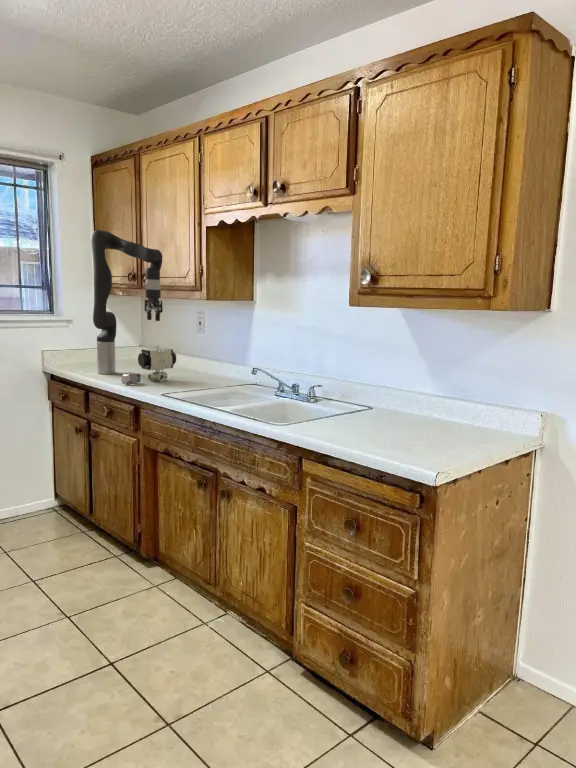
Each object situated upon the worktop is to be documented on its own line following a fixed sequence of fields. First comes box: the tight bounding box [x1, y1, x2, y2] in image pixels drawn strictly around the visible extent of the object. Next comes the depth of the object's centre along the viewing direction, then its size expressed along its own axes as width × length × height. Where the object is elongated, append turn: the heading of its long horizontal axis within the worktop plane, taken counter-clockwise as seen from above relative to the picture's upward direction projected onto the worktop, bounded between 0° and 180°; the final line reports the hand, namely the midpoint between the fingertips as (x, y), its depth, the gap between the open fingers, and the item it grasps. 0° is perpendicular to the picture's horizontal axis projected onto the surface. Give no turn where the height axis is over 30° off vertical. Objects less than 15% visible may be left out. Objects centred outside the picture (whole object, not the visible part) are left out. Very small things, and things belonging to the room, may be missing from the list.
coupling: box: [121, 371, 142, 385], centre depth 278 cm, size 5×8×5 cm
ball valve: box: [137, 345, 177, 383], centre depth 287 cm, size 18×8×18 cm, turn 132°
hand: (153, 320), depth 296 cm, fingers open, 8 cm apart
